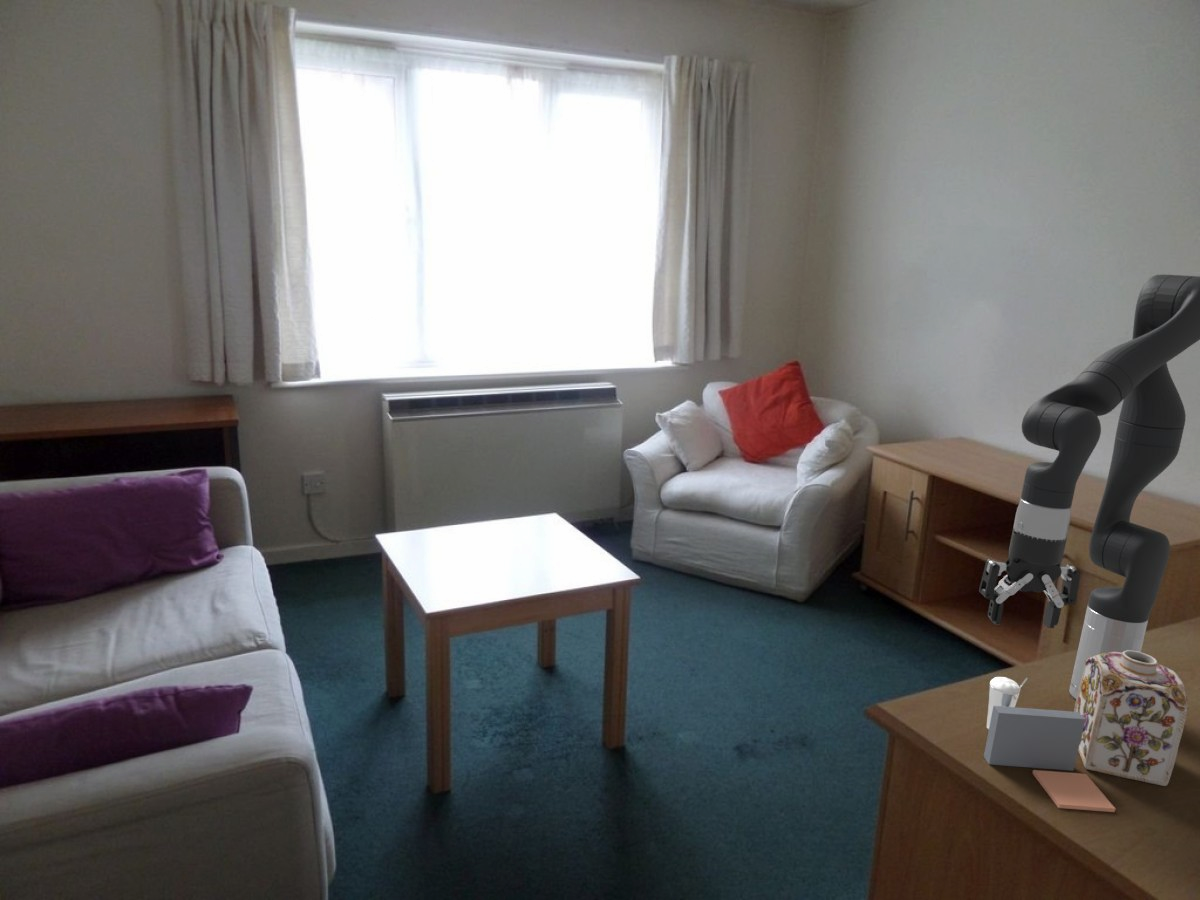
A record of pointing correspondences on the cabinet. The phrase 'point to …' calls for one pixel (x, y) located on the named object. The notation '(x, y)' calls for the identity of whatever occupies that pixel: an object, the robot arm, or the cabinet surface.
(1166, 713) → the decorative jar
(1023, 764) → the screen
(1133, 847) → the cabinet surface
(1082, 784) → the mat
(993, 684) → the milkshake
